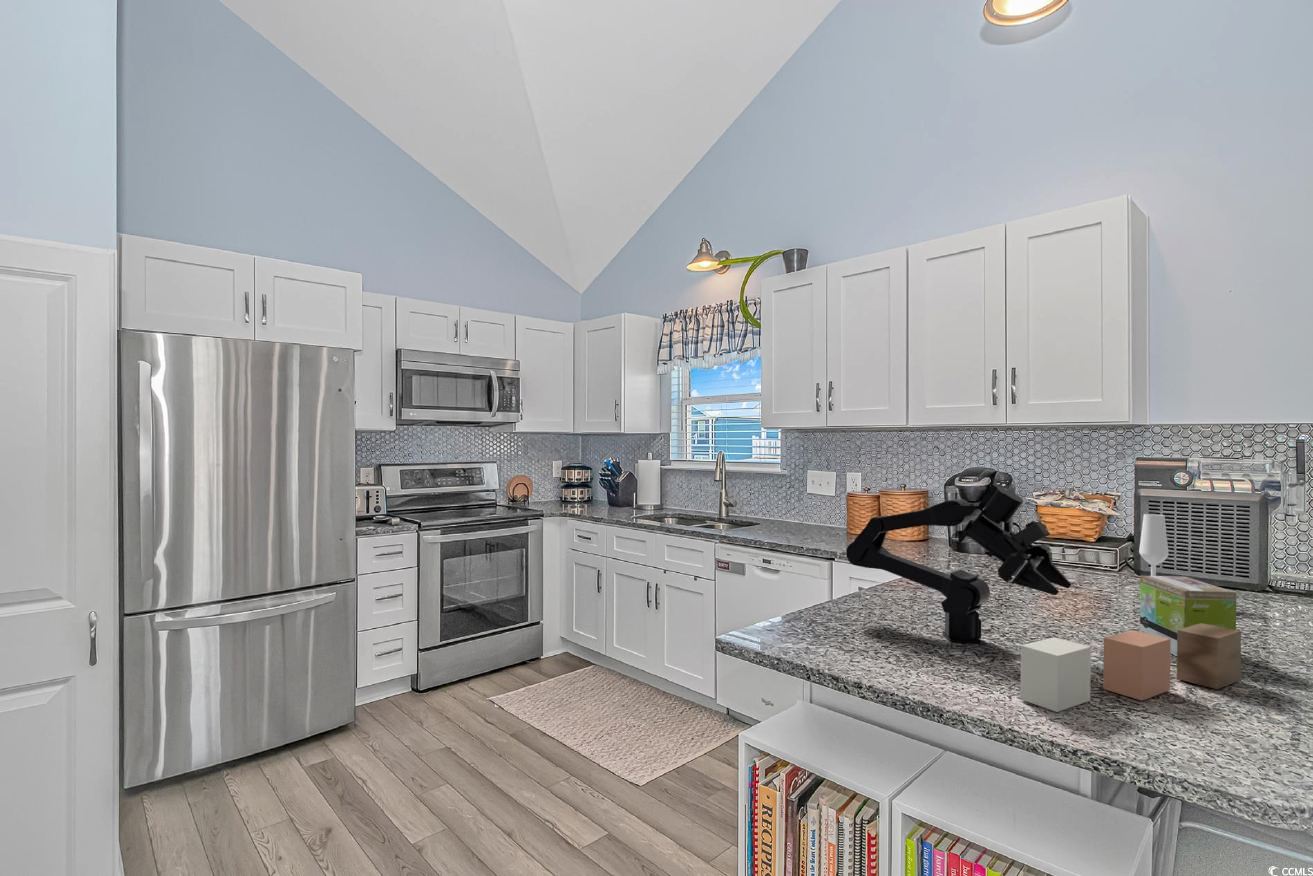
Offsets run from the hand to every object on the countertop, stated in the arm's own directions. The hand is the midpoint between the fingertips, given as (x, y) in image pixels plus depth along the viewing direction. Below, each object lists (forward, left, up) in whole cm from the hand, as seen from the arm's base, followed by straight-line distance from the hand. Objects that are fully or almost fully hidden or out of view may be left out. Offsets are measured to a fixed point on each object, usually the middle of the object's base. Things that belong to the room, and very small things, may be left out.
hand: (1063, 589), depth 131 cm
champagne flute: (+52, +64, -14) cm, 84 cm away
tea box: (+29, +12, -15) cm, 35 cm away
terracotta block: (+5, -15, -14) cm, 21 cm away
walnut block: (+22, -7, -14) cm, 27 cm away
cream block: (-11, -23, -14) cm, 29 cm away
